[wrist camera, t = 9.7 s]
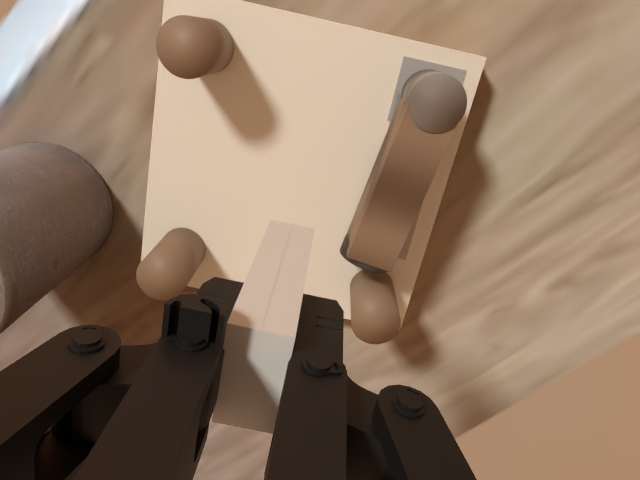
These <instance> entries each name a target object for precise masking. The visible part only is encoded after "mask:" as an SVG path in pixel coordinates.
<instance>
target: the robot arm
mask: <svg viewBox="0 0 640 480" xmlns="http://www.w3.org/2000/svg"><path fill="white" fill-rule="evenodd" d="M314 230H315V229H313V228H309V227H304V226H299V225H294V224H290V223H285V222H280V221H275V220H270V222H269V225H268V227H267V229H266V232H265V234H264V237H263V239H262V241H261V244H260V246H259V248H258V251H257V253H256V256H255V258H254V260H253V263H252V265H251V267H250V270H249V272H248V274H247V277H246V279H245V282H244V283H243V282H238V281H233V280H228V279H223V278H218V277H213V278H211V279H210V280H208V281H206V282H204V283H203V284H202V285H201V287H200V289H199V290H198V292H197V295H195V294H188V295H179V296H177V297H174V298H171V299H170V300H168V301H167V302H166V303H165V305H164V315H163V325H162V336H161V338H160V339H159V341H158V342H157V343H154V344H149V345H139V346H120V345H121V339H120V337H119V336H118V334H117V333H116V332H114V331H113V330H111V329H109V328H106V327H102V326H97V325H82V326H77V327H72V328H69V329H67V330H65V331H63V332H61V333H59V334H57V335H56V336H54V337H53V338H51V339H50V340H48V341H47V342H45V343H43V344H42V345H40V346H39V347H37V348H36V349H34V350H33V351H31V352H30V353H28V354H26V355H25V356H23V357H22V358H20V359H19V360H17V361H16V362H14V363H13V364H11V365H9V366H8V367H6V368H5V369H3V370H2V371H0V480H193V477H194V474H195V471H196V468H197V465H198V462H199V460H200V457H201V454H202V451H203V448H204V445H205V442H206V439H207V434H208V427H209V421H210V418H211V416H212V413H213V417H212V422H216V423H221V424H226V425H232V426H237V427H242V428H247V429H252V430H257V431H262V432H267V433H272V434H273V437H272V442H271V447H270V451H269V456H268V460H267V465H266V470H265V474H264V476H265V477H264V480H477V479H476V478H475V476H474V474H473V472H472V470H471V468H470V467H469V465H468V463H467V461H466V459H465V458H464V455H463V454H462V452H461V451H460V448H459V446H458V445H457V443H456V441H455V439H454V437H453V435H452V433H451V432H450V430H449V428H448V426H447V424H446V422H445V421H444V419H443V417H442V415H441V413H440V411H439V410H438V408H437V406H436V405H435V404H434V402H433V401H432V400H431V399H430V398H429V397H428V396H426V395H425V394H424V393H422V392H421V391H418V390H416V389H414V388H411V387H408V386H402V385H392V386H387V387H385V388H384V389H382V390H381V391H380V393H379V395H377V394H375V393H373V392H370V391H368V390H366V389H364V388H362V387H360V386H358V385H357V384H356V383H355V382H353V381H352V380H351V379H350V378H349V377H348V376H347V370H346V367H345V365H344V364H343V321H344V311H343V309H342V308H341V306H340V305H339V303H338V302H337V300H332V299H327V298H322V297H317V296H312V295H308V294H303V292H304V287H305V281H306V275H307V270H308V264H309V258H310V253H311V247H312V242H313V236H314Z"/></svg>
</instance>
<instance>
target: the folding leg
mask: <svg viewBox="0 0 640 480" xmlns="http://www.w3.org/2000/svg"><path fill="white" fill-rule="evenodd" d="M466 107H467V95H466V91H465V89H464V87H463V86H462V84H461V83H460V82H459V81H458V80H457V79H456V78H454V77H452V76H450V75H447V74H444V73H441V72H438V71H435V70H430V69H426V70H421V71H418V72H416V73H414V74H413V75H411V76H410V77H409V78H408V79H407V81H406V82H405V84H404V86H403V88H402V91H401V98H400V100H399V103H398V105H397V108H396V110H395V113H394V115H393V118H392V120H391V123H390V126H389V128H388V131H387V133H386V136H385V138H384V141H383V143H382V146H381V148H380V151H379V153H378V156H377V158H376V161H375V163H374V166H373V168H372V171H371V173H370V176H369V178H368V181H367V183H366V186H365V188H364V191H363V194H362V196H361V199H360V201H359V204H358V206H357V209H356V211H355V214H354V216H353V219H352V221H351V224H350V226H349V229H348V231H347V234H346V235H345V238H344V240H343V243H342V245H341V248H340V253H341V255H342V256H343V257H344V258H345V259H346V260H347V261H348V262H350V263H351V264H353V265H355V266H357V267H359V268H361V269H364V270H367V271H370V272H374V273H386V272H388V271H389V272H392V270H393V267H394V265H395V263H396V261H397V258H398V256H399V254H400V252H401V249H402V247H403V245H404V243H405V240H406V238H407V236H408V234H409V231H410V229H411V227H412V225H413V222H414V220H415V218H416V216H417V214H418V211H419V209H420V207H421V205H422V202H423V200H424V198H425V196H426V193H427V191H428V189H429V187H430V184H431V182H432V180H433V178H434V175H435V173H436V171H437V169H438V167H439V164H440V162H441V160H442V158H443V155H444V153H445V151H446V149H447V146H448V144H449V142H450V140H451V137H452V135H453V133H454V131H455V128H456V126H457V124H458V123H459V122H460V120H461V119H462V118H463V116H464V114H465V111H466Z"/></svg>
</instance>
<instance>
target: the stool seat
mask: <svg viewBox="0 0 640 480" xmlns="http://www.w3.org/2000/svg"><path fill="white" fill-rule="evenodd" d="M156 49H157V54H158V57H159V63H158V74H157V85H156V96H155V108H154V119H153V130H152V141H151V152H150V163H149V175H148V186H147V197H146V208H145V219H144V230H143V241H142V253H141V263H140V264H139V266H138V268H137V271H136V279H137V283H138V285H139V287H140V288H141V290H142V291H143V292H144V293H145V294H146V295H148V296H149V297H151V298H153V299H156V300H160V301H168V300H170V299H171V298H174V297H177V296H179V295H181V294H182V293H183V291H184V289H185V288H186V286H189V287H194V288H199V289H200V287H201V285H202V284H203V283H204V282H206V281H208V280H210V279H211V278H213V277H218V278H223V279H228V280H233V281H238V282H243V283H244V282H245V279H246V277H247V274H248V272H249V270H250V267H251V265H252V263H253V260H254V258H255V256H256V253H257V251H258V248H259V246H260V244H261V241H262V239H263V237H264V234H265V232H266V229H267V227H268V225H269V222H270V220H275V221H280V222H285V223H290V224H294V225H299V226H304V227H309V228H313V229H315V230H314V236H313V242H312V247H311V253H310V258H309V264H308V270H307V275H306V281H305V287H304V292H303V294H308V295H312V296H317V297H322V298H327V299H332V300H337V302H338V303H339V305H340V306H341V308H342V309H343V311H344V319H349V320H351V327H352V330H353V332H354V334H355V335H356V336H357V337H358V338H359V339H360V340H362V341H364V342H366V343H370V344H381V343H385V342H387V341H389V340H391V339H392V338H394V337H395V336H396V334H397V333H398V331H399V330H400V329H401V326H402V323H403V320H404V317H405V314H406V310H407V307H408V304H409V301H410V298H411V295H412V291H413V288H414V285H415V282H416V279H417V276H418V273H419V269H420V266H421V263H422V260H423V257H424V254H425V250H426V247H427V244H428V241H429V238H430V235H431V232H432V228H433V225H434V222H435V219H436V216H437V213H438V209H439V206H440V203H441V200H442V197H443V194H444V191H445V187H446V184H447V181H448V178H449V175H450V172H451V168H452V165H453V162H454V159H455V156H456V153H457V149H458V146H459V143H460V140H461V137H462V134H463V131H464V127H465V124H466V121H467V118H468V115H469V112H470V108H471V105H472V102H473V99H474V96H475V93H476V90H477V86H478V83H479V80H480V77H481V74H482V71H483V67H484V64H485V61H486V58H487V57H483V56H479V55H475V54H470V53H466V52H462V51H457V50H453V49H449V48H444V47H440V46H436V45H431V44H427V43H423V42H419V41H414V40H410V39H406V38H401V37H397V36H393V35H388V34H384V33H380V32H375V31H371V30H367V29H362V28H358V27H354V26H349V25H345V24H341V23H337V22H332V21H328V20H324V19H319V18H315V17H311V16H306V15H302V14H298V13H293V12H289V11H285V10H280V9H276V8H272V7H267V6H263V5H259V4H255V3H250V2H246V1H242V0H164V7H163V18H162V26H161V28H160V30H159V32H158V35H157V40H156ZM426 69H430V70H435V71H438V72H441V73H444V74H447V75H450V76H452V77H454V78H456V79H457V80H458V81H459V82H460V83H461V84H462V86H463V87H464V89H465V91H466V95H467V107H466V111H465V114H464V116H463V118H462V119H461V120H460V122H459V123H458V124H457V126H456V128H455V131H454V133H453V135H452V137H451V140H450V142H449V144H448V146H447V149H446V151H445V153H444V155H443V158H442V160H441V162H440V164H439V167H438V169H437V171H436V173H435V175H434V178H433V180H432V182H431V184H430V187H429V189H428V191H427V193H426V196H425V198H424V200H423V202H422V205H421V207H420V209H419V211H418V214H417V216H416V218H415V220H414V222H413V225H412V227H411V229H410V231H409V234H408V236H407V238H406V240H405V243H404V245H403V247H402V249H401V252H400V254H399V256H398V258H397V261H396V263H395V265H394V267H393V270H392V272H389V271H388V272H386V273H374V272H370V271H367V270H364V269H361V268H359V267H357V266H355V265H353V264H351V263H350V262H348V261H347V260H346V259H345V258H344V257H343V256H342V255H341V253H340V248H341V245H342V243H343V240H344V238H345V235H346V234H347V231H348V229H349V226H350V224H351V221H352V219H353V216H354V214H355V211H356V209H357V206H358V204H359V201H360V199H361V196H362V194H363V191H364V188H365V186H366V183H367V181H368V178H369V176H370V173H371V171H372V168H373V166H374V163H375V161H376V158H377V156H378V153H379V151H380V148H381V146H382V143H383V141H384V138H385V136H386V133H387V131H388V128H389V126H390V123H391V120H392V118H393V115H394V113H395V110H396V108H397V105H398V103H399V100H400V98H401V91H402V88H403V86H404V84H405V82H406V81H407V79H408V78H409V77H410V76H411V75H413V74H414V73H416V72H418V71H421V70H426Z"/></svg>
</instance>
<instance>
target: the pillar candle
mask: <svg viewBox="0 0 640 480" xmlns="http://www.w3.org/2000/svg"><path fill="white" fill-rule="evenodd" d="M112 223H113V206H112V201H111V197H110V194H109V191H108V189H107V187H106V185H105V183H104V181H103V180H102V178H101V176H100V175H99V174H98V172H97V171H96V170H95V169H94V168H93V167H92V166H91V165H90V164H89V163H88V162H87V161H86V160H85V159H84V158H82V157H81V156H80V155H78V154H76V153H74V152H73V151H71V150H69V149H67V148H65V147H62V146H58V145H54V144H47V143H26V144H20V145H15V146H12V147H10V148H6V149H3V150H0V333H2V332H3V331H4V330H5V329H6V328H7V327H9V326H10V325H11V324H12V323H13V322H14V321H16V320H17V319H18V318H19V317H20V316H21V315H22V314H24V313H25V312H26V311H27V310H28V309H30V308H31V307H32V306H33V305H34V304H35V303H37V302H38V301H39V300H40V299H41V298H42V297H43V296H45V295H46V294H47V293H48V292H50V291H51V290H52V289H53V288H55V287H56V286H57V285H58V284H59V283H60V282H61V281H63V280H64V279H65V278H66V277H67V276H69V275H70V274H71V273H72V272H73V271H74V270H76V269H77V268H78V267H79V266H80V265H82V264H83V263H84V262H85V261H86V260H87V259H88V258H90V257H91V256H92V255H93V254H94V253H95V252H96V251H98V250H99V249H100V247H101V246H102V245H103V244H104V242H105V241H106V239H107V237H108V235H109V233H110V230H111V227H112Z"/></svg>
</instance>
